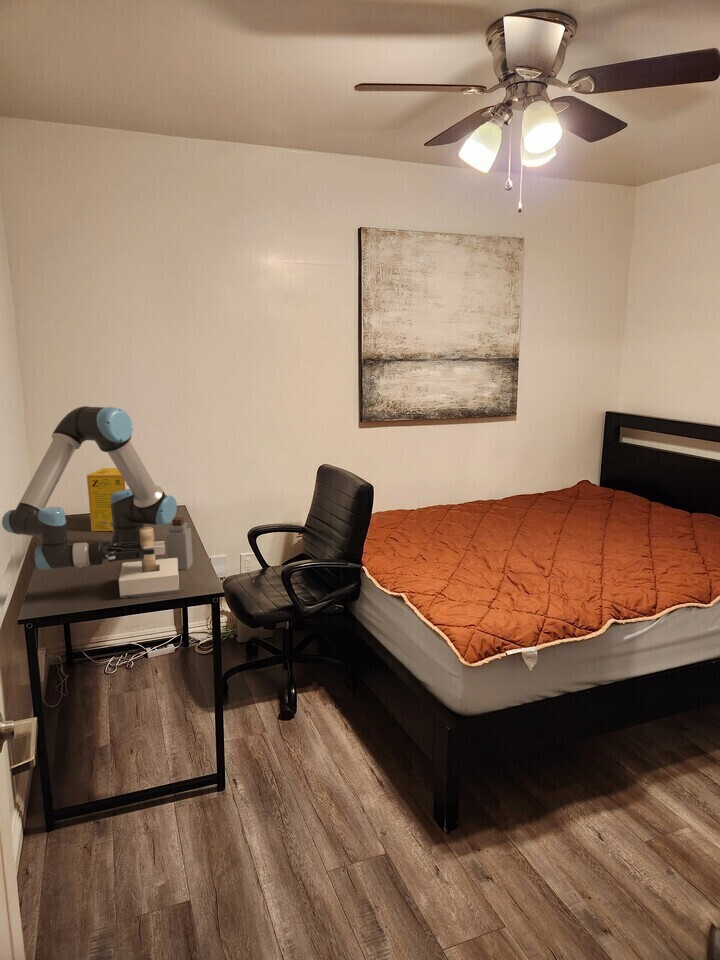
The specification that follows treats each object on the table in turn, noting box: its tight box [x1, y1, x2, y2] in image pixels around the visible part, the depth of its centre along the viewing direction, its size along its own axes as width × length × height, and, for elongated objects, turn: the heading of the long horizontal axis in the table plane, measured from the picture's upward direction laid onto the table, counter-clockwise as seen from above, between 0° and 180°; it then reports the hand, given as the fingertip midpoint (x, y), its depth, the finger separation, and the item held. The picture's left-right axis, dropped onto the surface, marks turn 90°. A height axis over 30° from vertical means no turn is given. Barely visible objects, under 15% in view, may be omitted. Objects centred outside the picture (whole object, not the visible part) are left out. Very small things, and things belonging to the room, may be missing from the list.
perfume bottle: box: [165, 516, 194, 571], centre depth 230 cm, size 7×7×18 cm
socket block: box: [118, 558, 180, 599], centre depth 212 cm, size 18×18×6 cm
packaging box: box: [85, 467, 130, 532], centre depth 280 cm, size 16×16×25 cm
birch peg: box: [139, 526, 157, 573], centre depth 210 cm, size 4×4×16 cm
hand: (164, 547), depth 211 cm, fingers closed on birch peg, 4 cm apart
